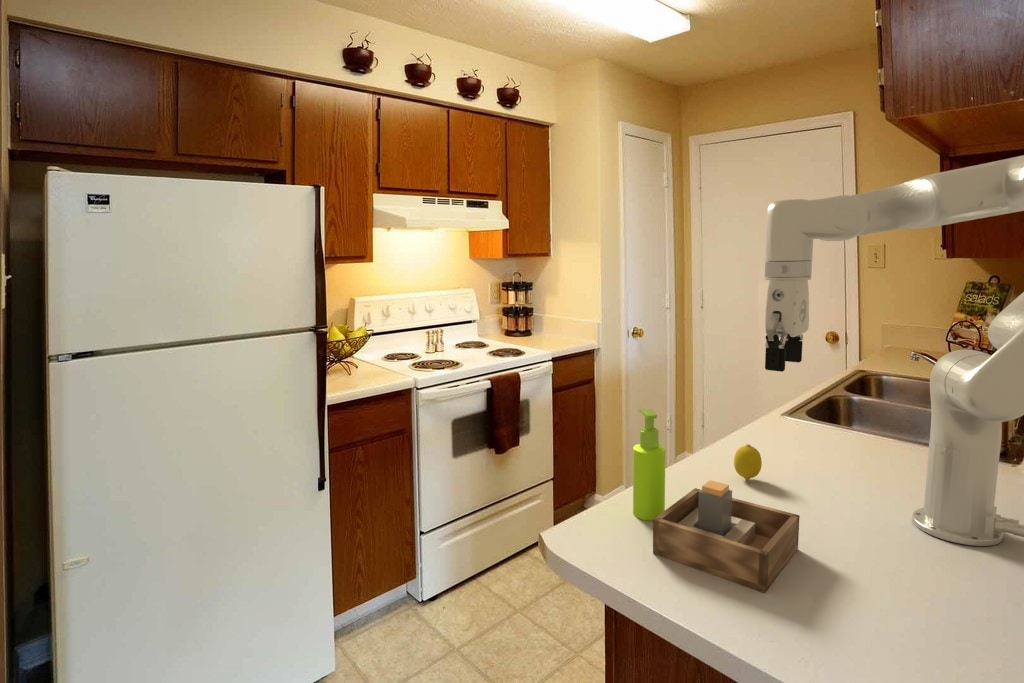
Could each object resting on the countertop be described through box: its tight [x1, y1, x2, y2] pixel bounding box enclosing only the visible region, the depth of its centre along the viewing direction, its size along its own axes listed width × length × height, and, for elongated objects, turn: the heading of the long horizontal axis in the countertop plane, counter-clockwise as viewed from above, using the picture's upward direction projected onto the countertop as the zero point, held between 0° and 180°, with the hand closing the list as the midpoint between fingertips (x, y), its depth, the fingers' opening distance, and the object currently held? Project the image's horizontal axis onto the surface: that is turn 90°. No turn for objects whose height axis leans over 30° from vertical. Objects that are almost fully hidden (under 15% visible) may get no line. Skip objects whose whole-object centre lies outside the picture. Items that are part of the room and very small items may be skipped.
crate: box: [652, 487, 801, 594], centre depth 95 cm, size 18×16×6 cm
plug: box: [698, 479, 733, 536], centre depth 96 cm, size 4×4×10 cm
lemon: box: [733, 443, 763, 481], centre depth 124 cm, size 6×6×8 cm
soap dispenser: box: [632, 408, 666, 522], centre depth 109 cm, size 6×7×20 cm
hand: (783, 365), depth 105 cm, fingers open, 9 cm apart
